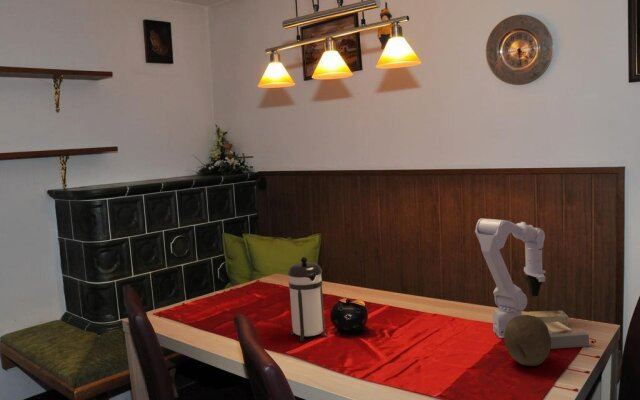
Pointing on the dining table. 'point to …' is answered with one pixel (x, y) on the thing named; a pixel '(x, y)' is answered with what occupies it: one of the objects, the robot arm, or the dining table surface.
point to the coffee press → (306, 299)
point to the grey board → (569, 340)
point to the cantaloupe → (527, 340)
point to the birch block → (557, 328)
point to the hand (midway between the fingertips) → (534, 295)
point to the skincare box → (551, 316)
